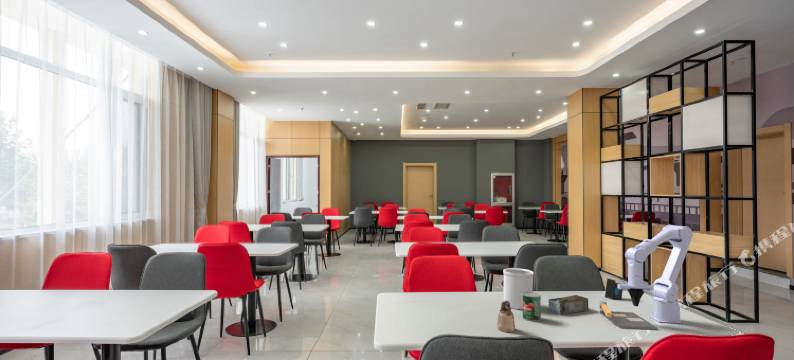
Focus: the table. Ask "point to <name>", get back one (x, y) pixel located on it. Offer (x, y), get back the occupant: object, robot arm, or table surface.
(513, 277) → the utensil holder
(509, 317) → the figurine
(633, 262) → the robot arm
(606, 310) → the swing arm
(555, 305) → the beverage carton
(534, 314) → the canned tomato
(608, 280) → the speaker
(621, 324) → the panel
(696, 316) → the table surface
